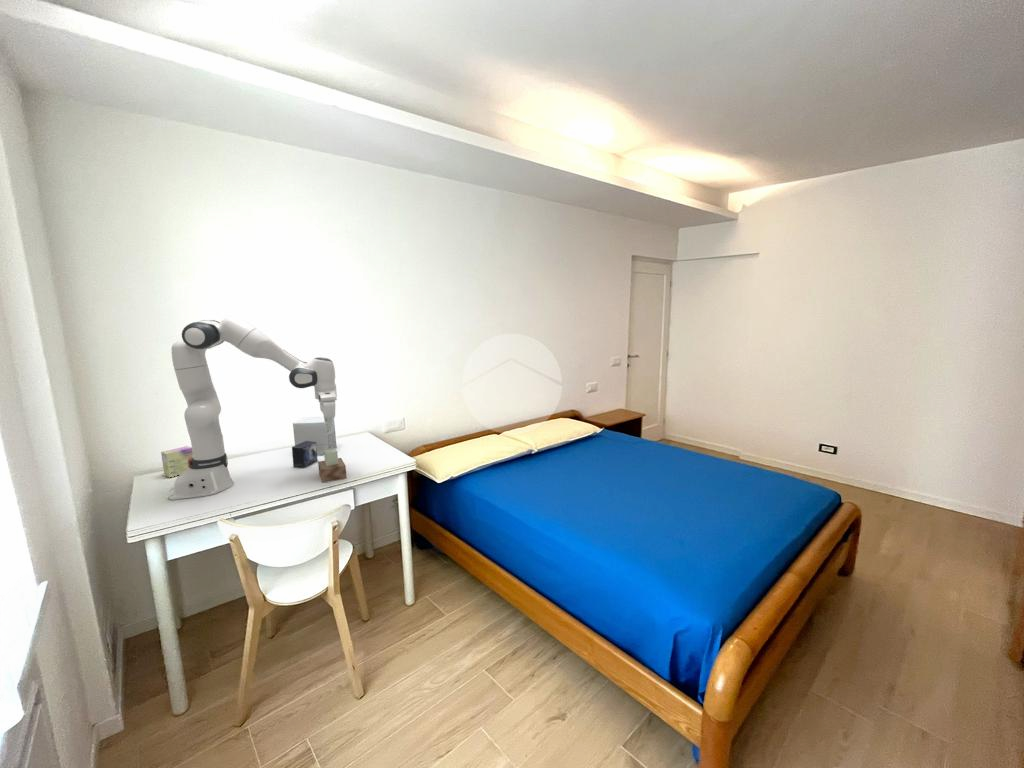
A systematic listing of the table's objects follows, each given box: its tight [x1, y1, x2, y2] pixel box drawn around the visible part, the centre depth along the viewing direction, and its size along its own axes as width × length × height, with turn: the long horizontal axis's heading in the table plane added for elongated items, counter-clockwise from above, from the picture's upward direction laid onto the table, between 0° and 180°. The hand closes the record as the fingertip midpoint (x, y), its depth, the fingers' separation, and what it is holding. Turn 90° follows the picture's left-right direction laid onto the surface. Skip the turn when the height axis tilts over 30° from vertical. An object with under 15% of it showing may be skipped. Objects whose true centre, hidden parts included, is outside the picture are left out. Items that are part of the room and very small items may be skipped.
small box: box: [291, 441, 319, 469], centre depth 209 cm, size 11×6×10 cm, turn 168°
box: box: [160, 445, 193, 479], centre depth 198 cm, size 10×6×12 cm, turn 149°
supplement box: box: [292, 416, 338, 456], centre depth 227 cm, size 17×13×18 cm
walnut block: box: [317, 457, 347, 483], centre depth 194 cm, size 10×12×6 cm
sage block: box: [323, 448, 339, 466], centre depth 193 cm, size 5×5×6 cm
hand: (328, 424), depth 190 cm, fingers open, 8 cm apart
